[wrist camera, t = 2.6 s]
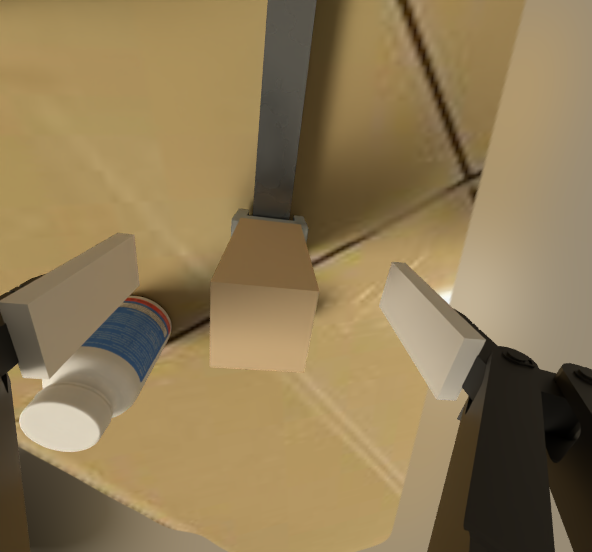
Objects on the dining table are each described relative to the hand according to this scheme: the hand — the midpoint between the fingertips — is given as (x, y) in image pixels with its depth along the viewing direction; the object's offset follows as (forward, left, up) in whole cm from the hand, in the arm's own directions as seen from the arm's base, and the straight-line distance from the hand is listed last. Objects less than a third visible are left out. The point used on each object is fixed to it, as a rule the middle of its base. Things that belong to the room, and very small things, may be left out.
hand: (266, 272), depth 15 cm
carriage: (0, 0, -7) cm, 7 cm away
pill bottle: (+9, -10, -7) cm, 15 cm away
